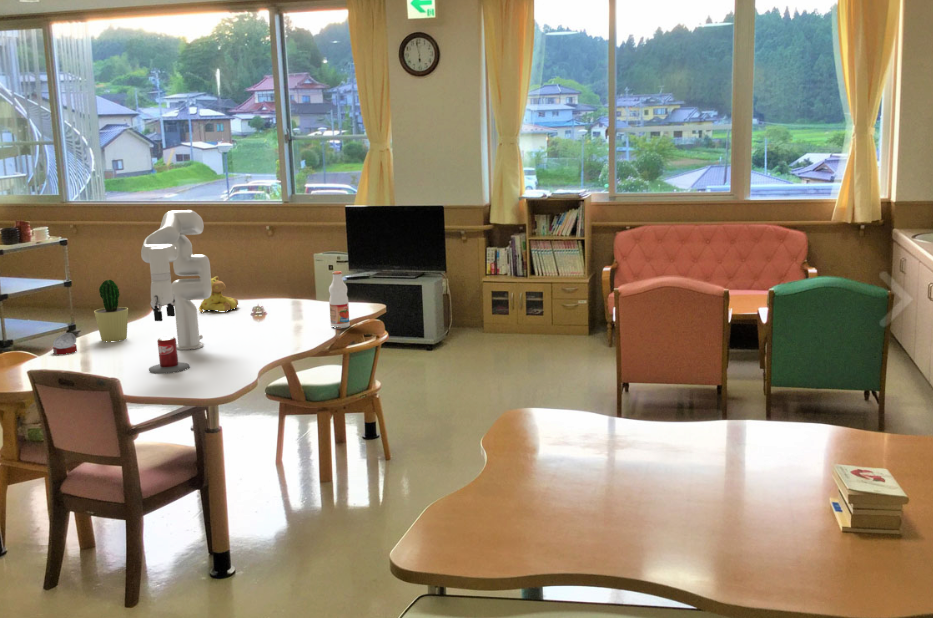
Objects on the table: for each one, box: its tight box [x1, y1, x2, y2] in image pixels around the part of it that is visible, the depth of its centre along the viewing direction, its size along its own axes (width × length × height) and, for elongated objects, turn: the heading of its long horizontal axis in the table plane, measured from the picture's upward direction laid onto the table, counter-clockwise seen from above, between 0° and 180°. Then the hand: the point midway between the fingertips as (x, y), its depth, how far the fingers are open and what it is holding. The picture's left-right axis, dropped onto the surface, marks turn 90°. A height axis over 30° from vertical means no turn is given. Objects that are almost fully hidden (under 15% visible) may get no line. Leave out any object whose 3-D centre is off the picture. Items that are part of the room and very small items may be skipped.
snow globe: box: [52, 332, 78, 355], centre depth 396 cm, size 11×10×10 cm
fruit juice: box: [328, 270, 351, 329], centre depth 433 cm, size 9×9×28 cm
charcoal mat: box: [148, 361, 190, 374], centre depth 359 cm, size 16×16×1 cm
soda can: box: [157, 336, 179, 368], centre depth 358 cm, size 7×7×12 cm
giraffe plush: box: [198, 275, 239, 313], centre depth 493 cm, size 20×24×19 cm
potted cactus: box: [93, 279, 129, 343], centre depth 418 cm, size 15×15×30 cm
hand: (164, 318), depth 355 cm, fingers open, 9 cm apart
